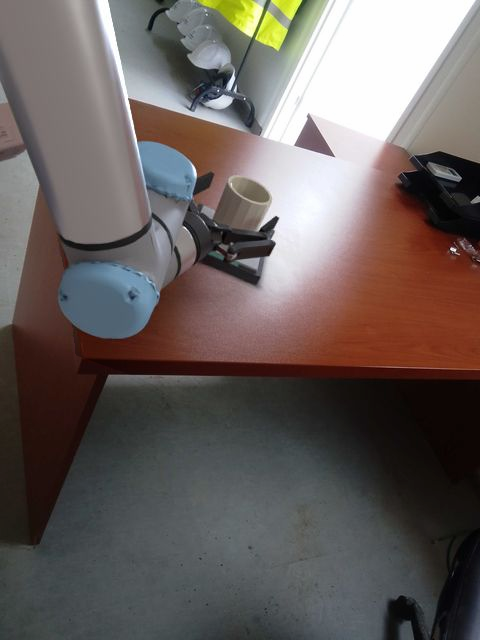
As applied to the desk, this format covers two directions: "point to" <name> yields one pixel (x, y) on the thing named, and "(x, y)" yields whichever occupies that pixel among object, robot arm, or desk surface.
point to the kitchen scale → (238, 268)
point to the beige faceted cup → (243, 204)
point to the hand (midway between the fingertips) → (242, 201)
